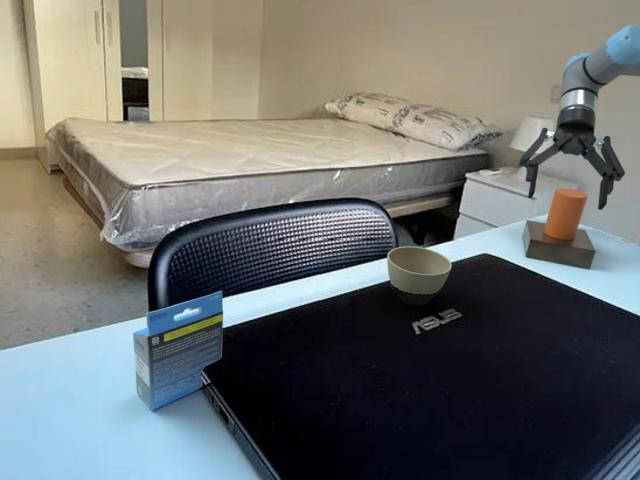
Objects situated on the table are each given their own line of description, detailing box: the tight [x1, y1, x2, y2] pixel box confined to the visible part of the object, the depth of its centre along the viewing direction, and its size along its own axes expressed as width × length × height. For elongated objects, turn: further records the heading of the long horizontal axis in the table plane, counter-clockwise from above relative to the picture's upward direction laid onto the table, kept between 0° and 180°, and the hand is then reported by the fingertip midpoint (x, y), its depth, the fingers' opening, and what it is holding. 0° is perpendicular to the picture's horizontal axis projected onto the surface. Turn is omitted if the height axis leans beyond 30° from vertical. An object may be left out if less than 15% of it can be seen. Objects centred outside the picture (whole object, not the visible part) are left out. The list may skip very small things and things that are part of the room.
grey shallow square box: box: [522, 219, 596, 270], centre depth 104 cm, size 12×12×4 cm
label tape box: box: [132, 290, 224, 411], centre depth 55 cm, size 9×4×12 cm, turn 133°
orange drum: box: [544, 187, 588, 240], centre depth 101 cm, size 6×6×9 cm
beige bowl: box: [386, 245, 453, 295], centre depth 80 cm, size 10×10×7 cm
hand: (566, 200), depth 103 cm, fingers open, 13 cm apart
